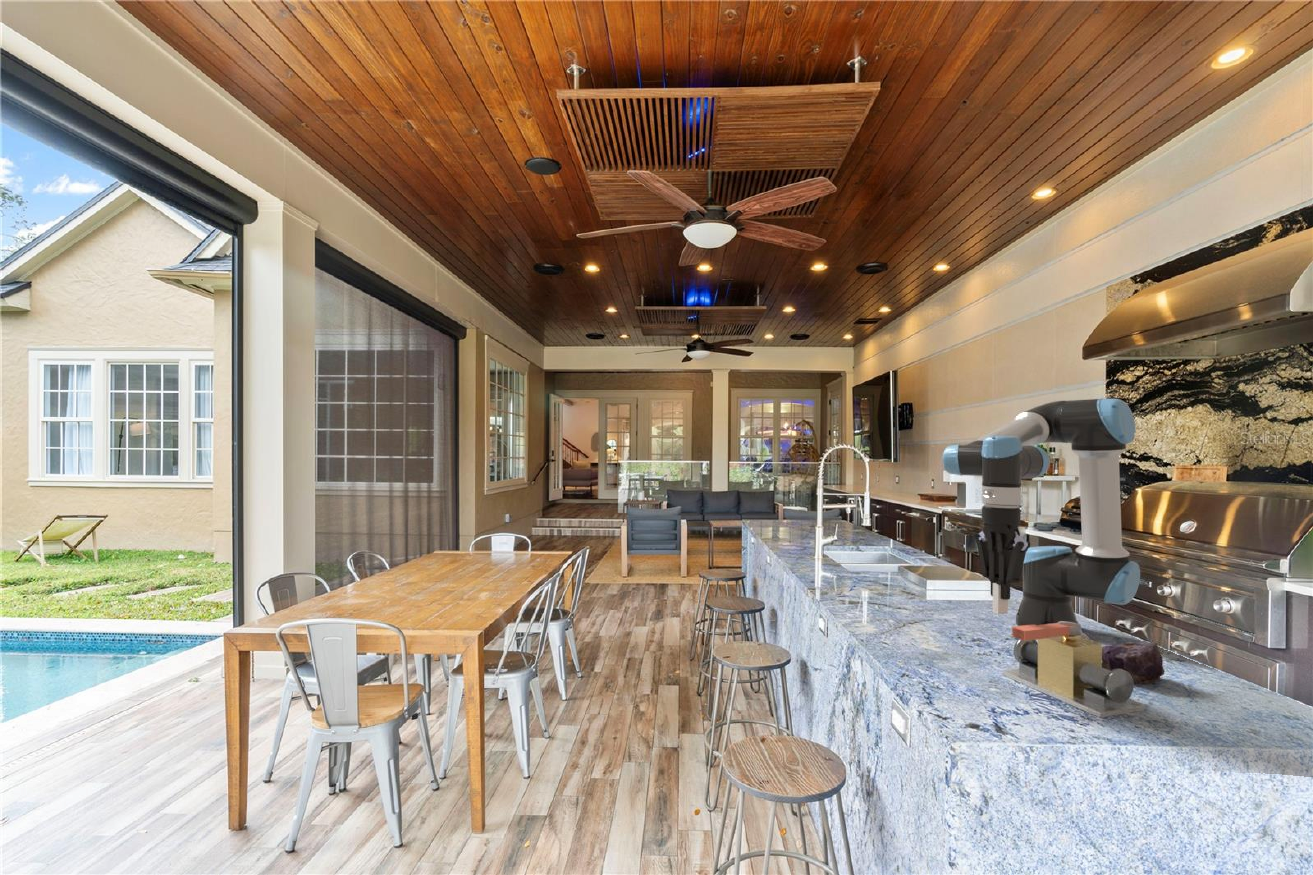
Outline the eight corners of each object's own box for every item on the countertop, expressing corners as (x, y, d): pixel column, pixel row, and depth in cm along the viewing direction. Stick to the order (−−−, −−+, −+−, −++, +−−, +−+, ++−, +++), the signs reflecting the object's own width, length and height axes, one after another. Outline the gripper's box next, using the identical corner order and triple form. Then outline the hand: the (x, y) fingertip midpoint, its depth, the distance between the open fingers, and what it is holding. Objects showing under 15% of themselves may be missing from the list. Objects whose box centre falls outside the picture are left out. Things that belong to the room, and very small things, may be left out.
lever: (1067, 628, 130) (1067, 619, 130) (1085, 634, 126) (1085, 625, 126) (1010, 635, 126) (1010, 626, 126) (1027, 641, 122) (1027, 631, 122)
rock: (1099, 675, 140) (1121, 692, 130) (1092, 638, 140) (1114, 652, 131) (1157, 672, 137) (1184, 688, 127) (1149, 634, 138) (1176, 648, 128)
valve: (1043, 669, 140) (1043, 617, 140) (1144, 709, 119) (1144, 648, 119) (1003, 675, 136) (1003, 621, 137) (1100, 717, 115) (1100, 654, 116)
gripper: (964, 503, 138) (963, 606, 137) (1013, 509, 125) (1012, 622, 125) (989, 502, 140) (989, 604, 140) (1040, 508, 127) (1039, 620, 127)
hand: (1000, 612), depth 132 cm, fingers closed
